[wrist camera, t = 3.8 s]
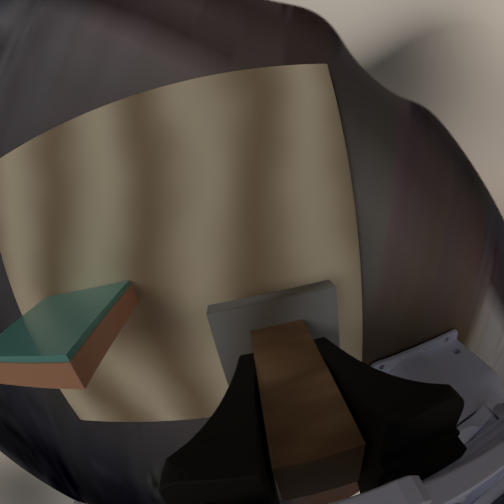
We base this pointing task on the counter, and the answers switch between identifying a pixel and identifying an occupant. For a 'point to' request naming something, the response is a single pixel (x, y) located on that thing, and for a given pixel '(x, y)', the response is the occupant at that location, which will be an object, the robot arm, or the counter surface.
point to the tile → (65, 337)
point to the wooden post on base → (294, 384)
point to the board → (185, 224)
